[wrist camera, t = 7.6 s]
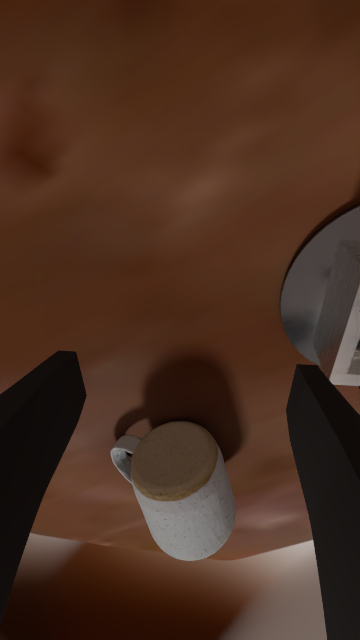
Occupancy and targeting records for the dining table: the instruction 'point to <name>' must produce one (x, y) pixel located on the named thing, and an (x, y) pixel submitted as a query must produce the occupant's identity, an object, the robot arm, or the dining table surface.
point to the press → (327, 299)
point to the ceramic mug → (180, 487)
